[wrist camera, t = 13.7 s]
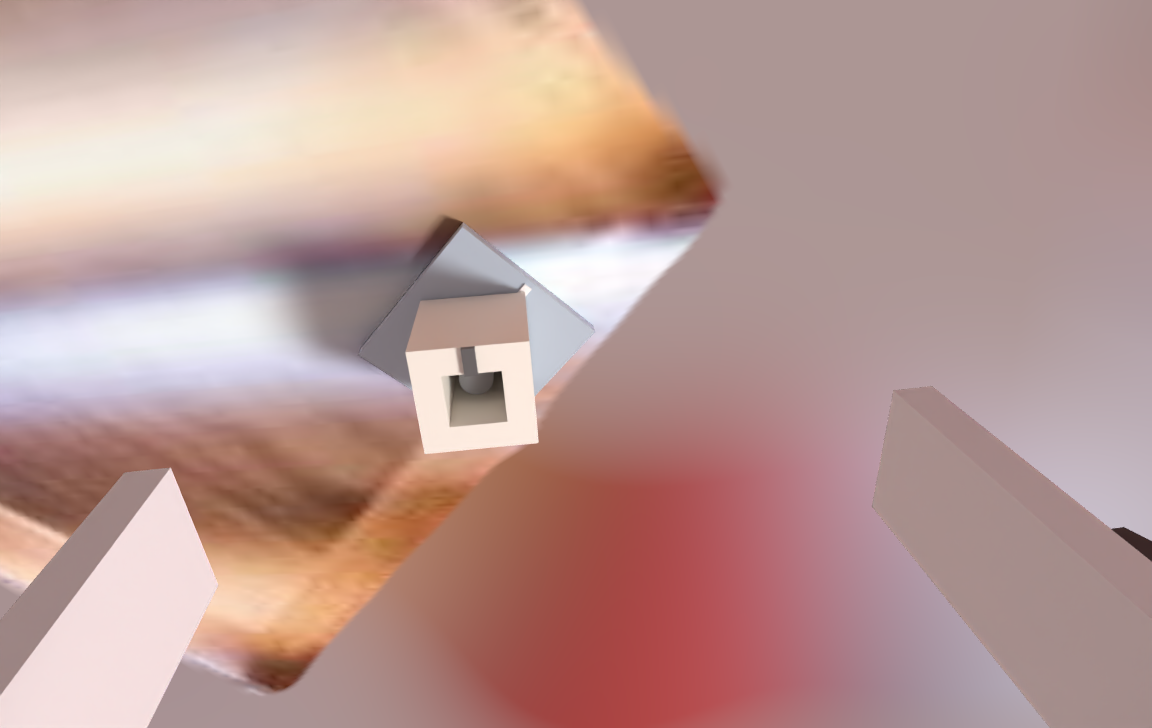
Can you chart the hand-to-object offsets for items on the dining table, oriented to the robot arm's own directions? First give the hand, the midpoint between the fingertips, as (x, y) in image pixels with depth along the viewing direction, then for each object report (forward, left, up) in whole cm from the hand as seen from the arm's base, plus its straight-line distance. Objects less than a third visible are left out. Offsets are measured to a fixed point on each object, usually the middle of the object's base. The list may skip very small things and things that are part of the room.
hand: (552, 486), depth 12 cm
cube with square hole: (+6, -11, -33) cm, 36 cm away
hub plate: (+6, -11, -35) cm, 37 cm away
